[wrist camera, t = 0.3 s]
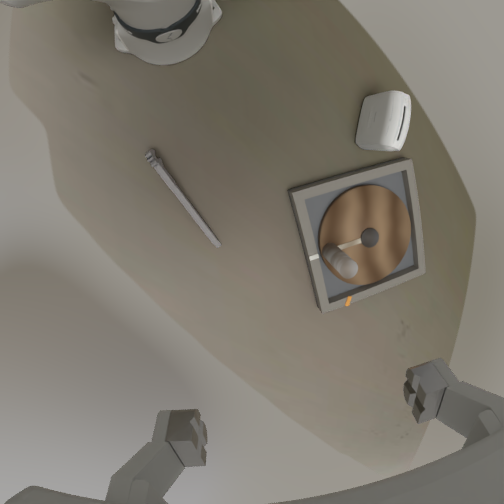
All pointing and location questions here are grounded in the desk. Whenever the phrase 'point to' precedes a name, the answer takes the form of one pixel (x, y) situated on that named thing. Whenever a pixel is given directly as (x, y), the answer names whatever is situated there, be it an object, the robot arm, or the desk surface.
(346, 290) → the dial base
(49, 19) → the desk surface
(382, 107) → the photo printer
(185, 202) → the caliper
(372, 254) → the dial
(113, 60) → the desk surface
